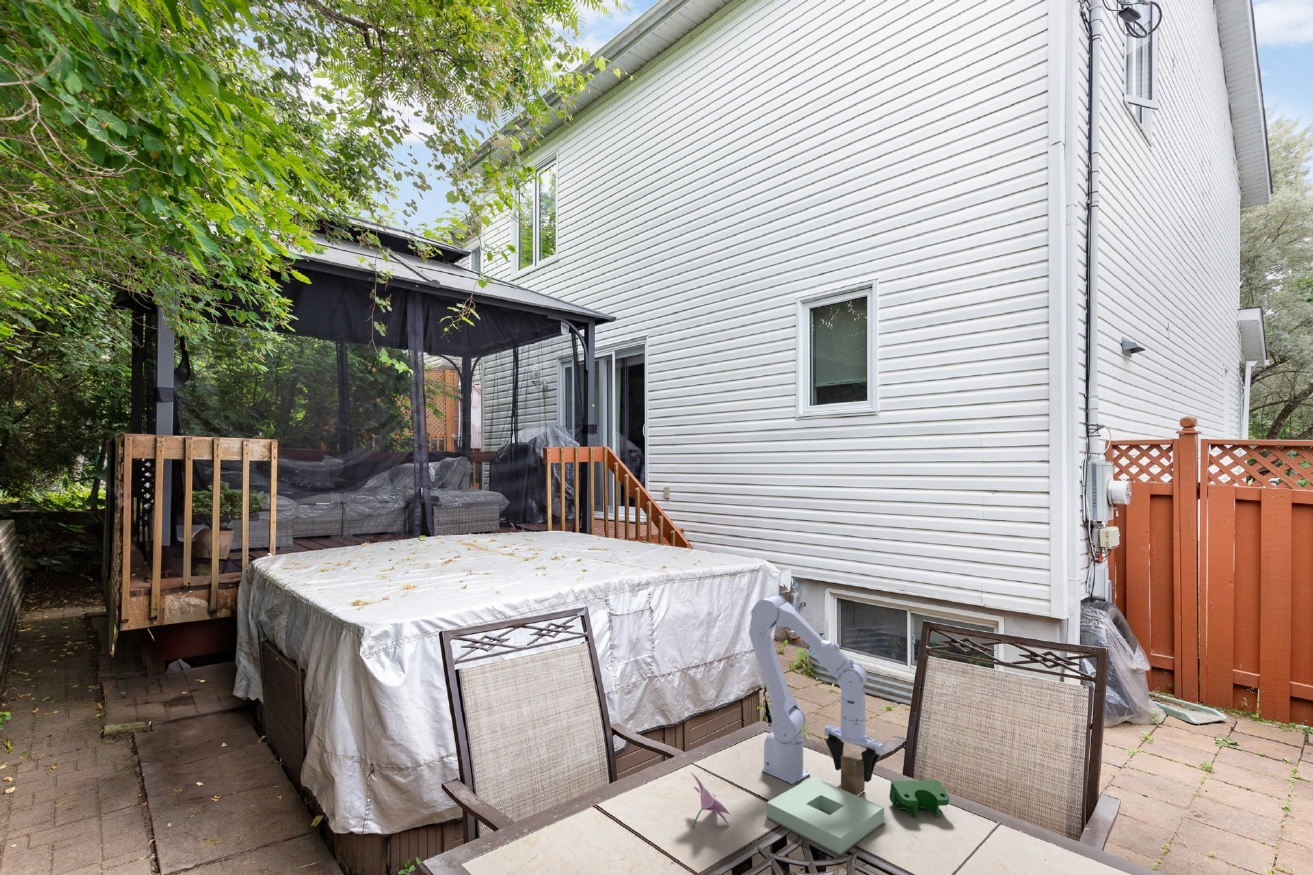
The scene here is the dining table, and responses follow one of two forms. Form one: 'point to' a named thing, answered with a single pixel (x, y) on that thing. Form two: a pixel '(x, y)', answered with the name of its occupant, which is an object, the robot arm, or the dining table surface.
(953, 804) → the dining table surface
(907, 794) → the clamp
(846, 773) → the post
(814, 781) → the well block
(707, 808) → the lily
